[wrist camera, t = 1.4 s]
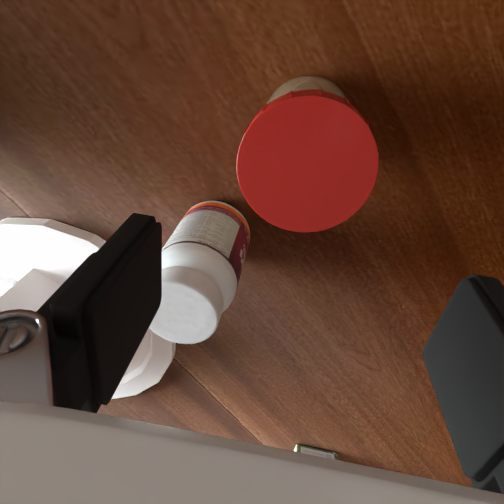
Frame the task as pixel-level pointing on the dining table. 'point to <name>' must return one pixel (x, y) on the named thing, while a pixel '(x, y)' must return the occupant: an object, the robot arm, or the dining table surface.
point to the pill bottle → (200, 271)
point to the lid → (307, 161)
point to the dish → (55, 274)
